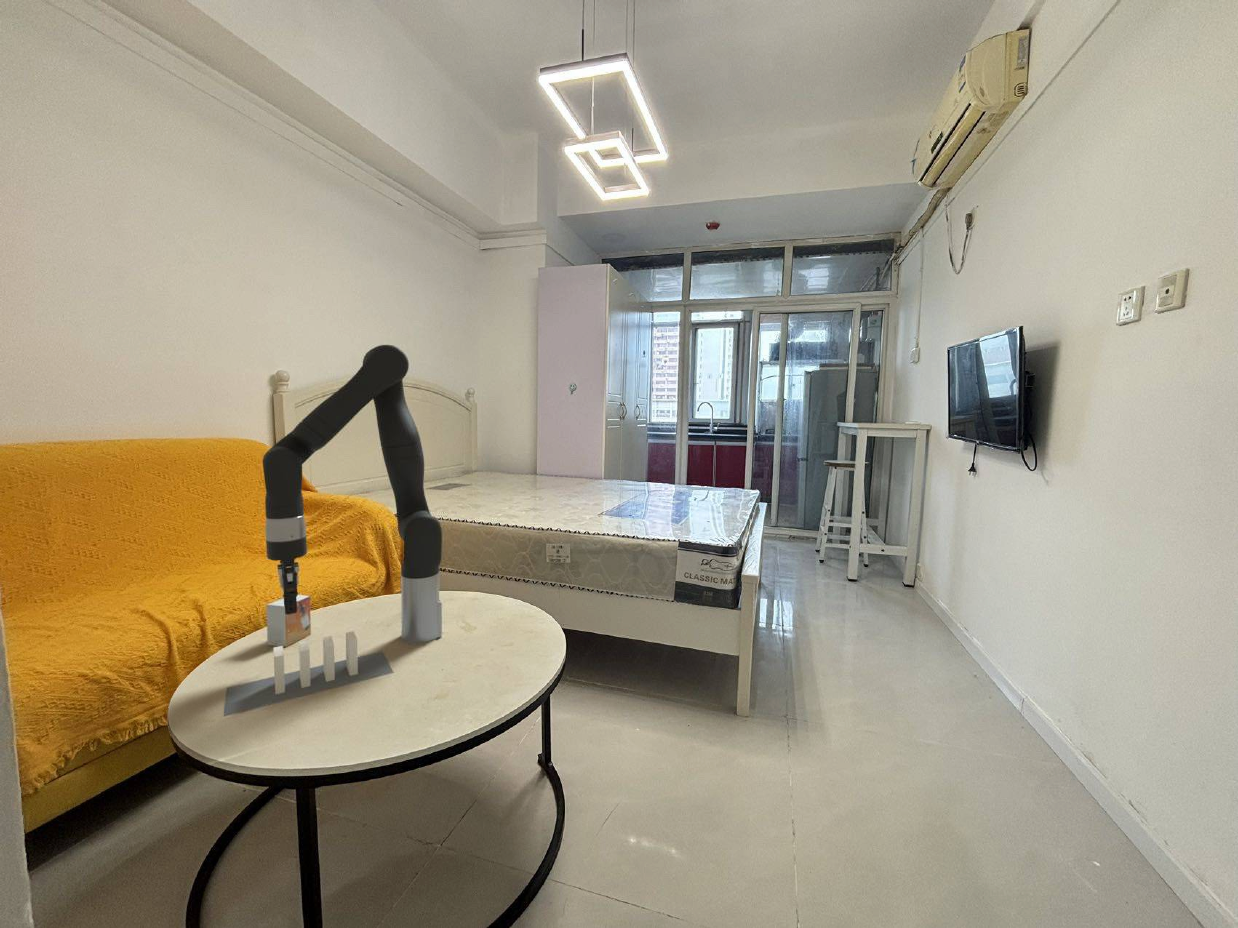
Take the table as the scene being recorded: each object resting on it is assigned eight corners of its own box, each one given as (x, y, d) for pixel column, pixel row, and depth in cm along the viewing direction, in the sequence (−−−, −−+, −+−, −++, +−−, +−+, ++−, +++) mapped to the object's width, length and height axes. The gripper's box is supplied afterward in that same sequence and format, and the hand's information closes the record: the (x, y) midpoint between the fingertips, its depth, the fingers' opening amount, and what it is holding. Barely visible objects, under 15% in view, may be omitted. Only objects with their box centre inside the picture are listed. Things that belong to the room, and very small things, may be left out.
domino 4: (331, 669, 112) (331, 635, 111) (334, 679, 108) (333, 644, 107) (323, 671, 111) (322, 637, 110) (326, 681, 107) (325, 646, 106)
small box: (285, 648, 122) (284, 606, 121) (266, 645, 123) (265, 604, 122) (311, 634, 130) (310, 595, 129) (293, 631, 131) (292, 593, 130)
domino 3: (308, 675, 109) (307, 640, 108) (310, 685, 105) (309, 649, 104) (299, 677, 108) (298, 642, 107) (301, 687, 104) (300, 651, 103)
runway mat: (382, 652, 121) (382, 651, 121) (393, 673, 112) (393, 672, 111) (226, 689, 103) (226, 687, 103) (223, 718, 94) (223, 716, 94)
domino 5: (354, 664, 114) (353, 631, 114) (357, 673, 110) (357, 639, 110) (346, 666, 113) (345, 632, 113) (349, 675, 109) (349, 641, 109)
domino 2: (294, 614, 115) (292, 581, 114) (296, 622, 111) (293, 587, 110) (286, 616, 114) (284, 583, 113) (287, 624, 110) (285, 589, 109)
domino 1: (283, 681, 106) (282, 645, 106) (284, 692, 102) (283, 655, 102) (274, 683, 105) (273, 647, 105) (275, 694, 101) (274, 657, 101)
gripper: (308, 540, 107) (312, 616, 109) (303, 527, 118) (307, 596, 120) (266, 545, 103) (271, 624, 104) (265, 531, 114) (269, 602, 116)
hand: (290, 608), depth 112 cm, fingers closed on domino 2, 5 cm apart
